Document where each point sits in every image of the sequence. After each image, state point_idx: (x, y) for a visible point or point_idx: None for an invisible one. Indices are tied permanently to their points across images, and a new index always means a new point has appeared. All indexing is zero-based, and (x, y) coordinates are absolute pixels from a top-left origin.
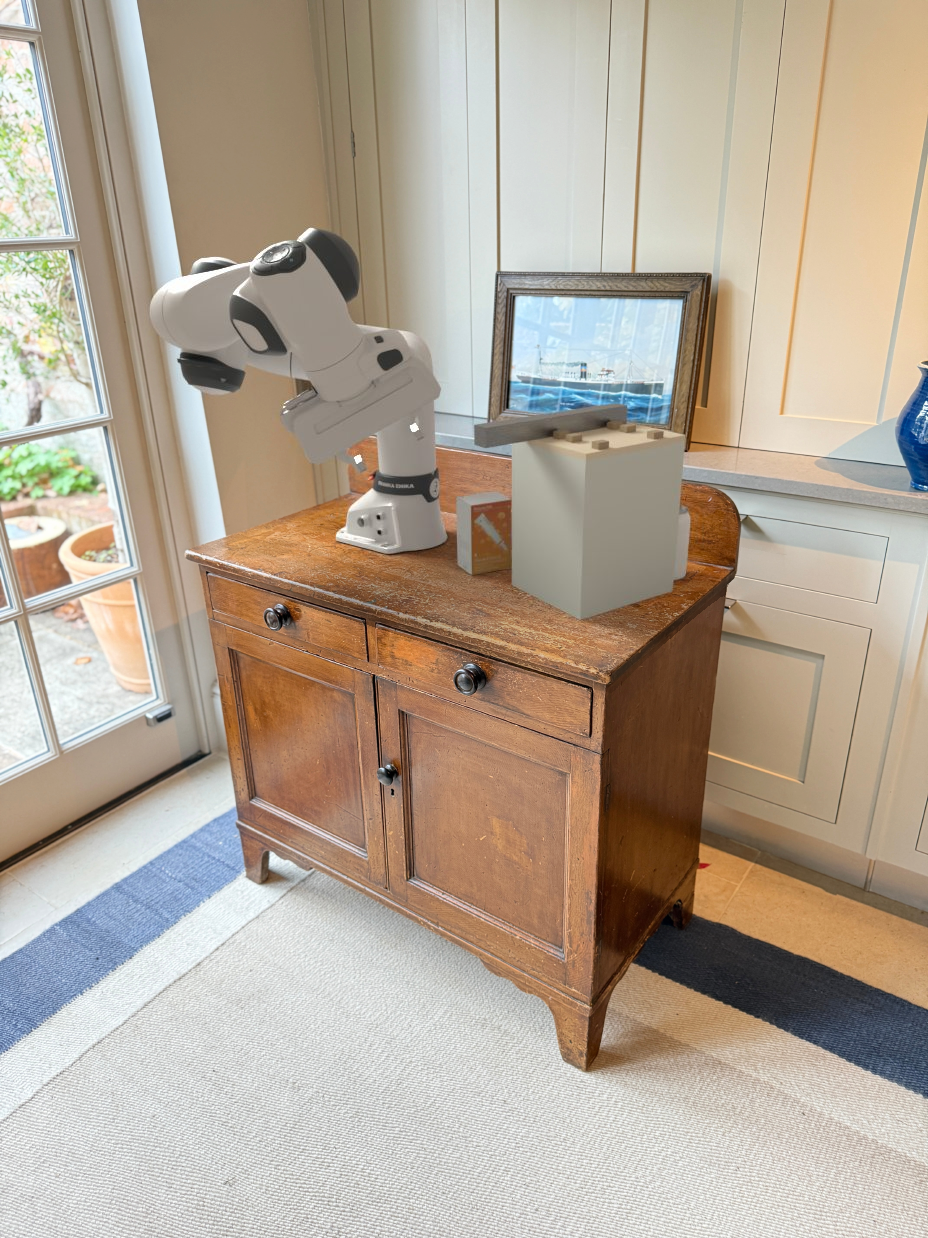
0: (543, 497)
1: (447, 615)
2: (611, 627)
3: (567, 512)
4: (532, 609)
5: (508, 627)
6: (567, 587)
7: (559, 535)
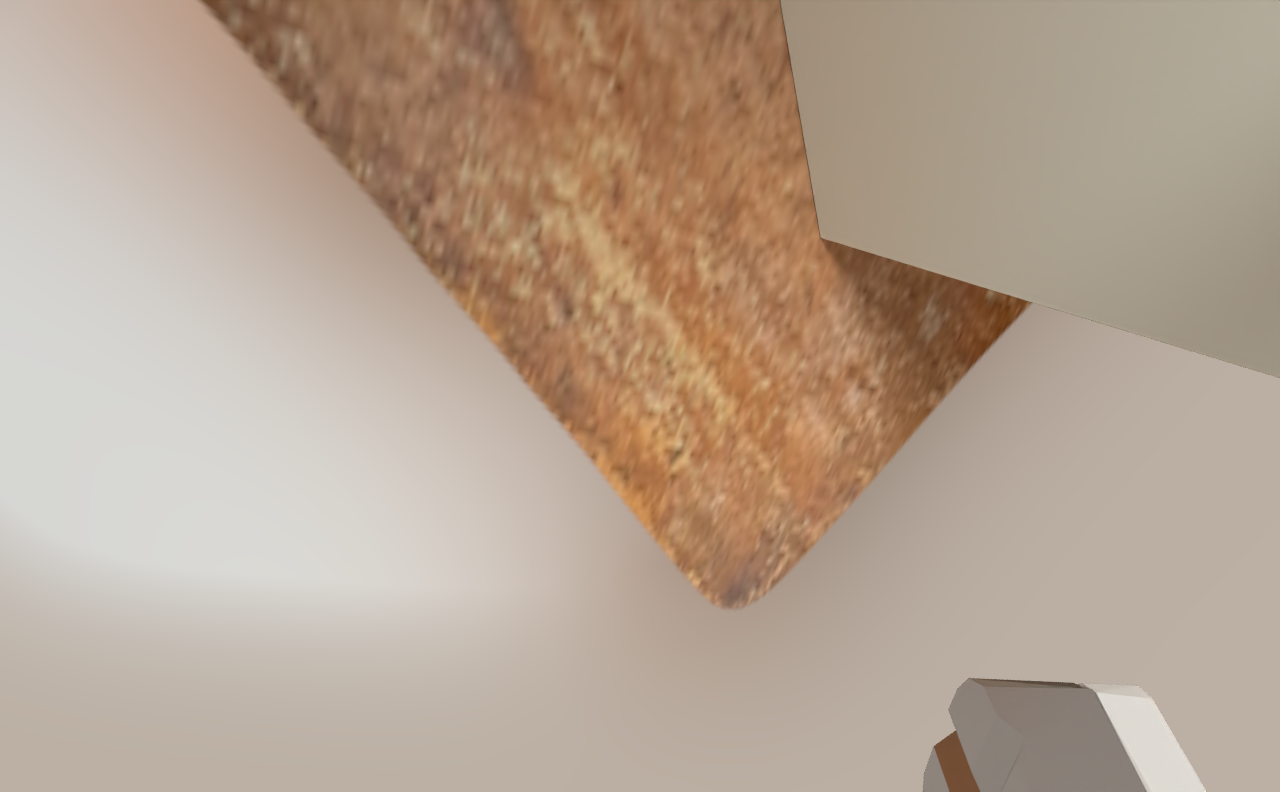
0: (1232, 15)
1: (331, 9)
2: (876, 321)
3: (1196, 231)
4: (712, 73)
5: (566, 237)
6: (887, 179)
7: (1067, 149)
